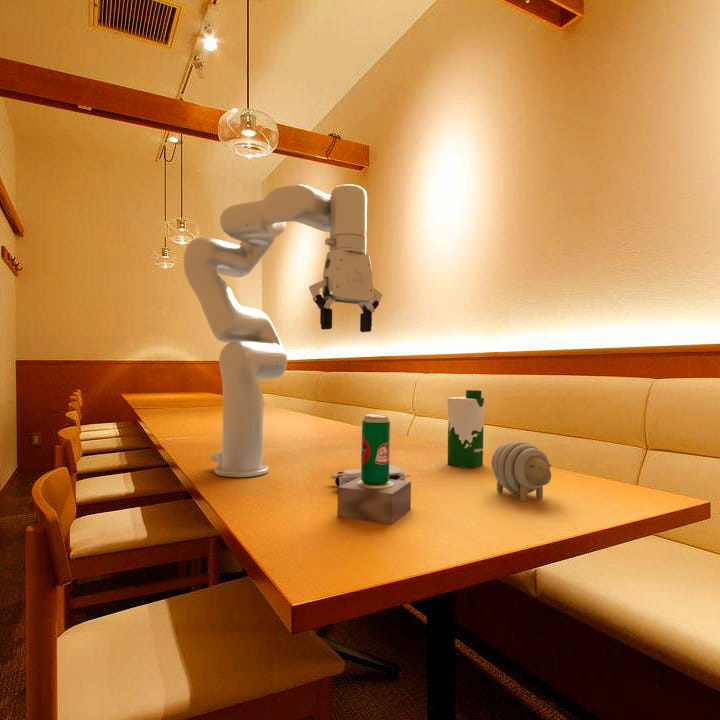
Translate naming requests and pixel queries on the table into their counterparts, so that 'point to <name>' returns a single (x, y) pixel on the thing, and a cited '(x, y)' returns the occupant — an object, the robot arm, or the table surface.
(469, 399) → the milk carton
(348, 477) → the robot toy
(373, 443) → the soda can
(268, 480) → the table surface
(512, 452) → the toy sheep
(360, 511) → the base brick
